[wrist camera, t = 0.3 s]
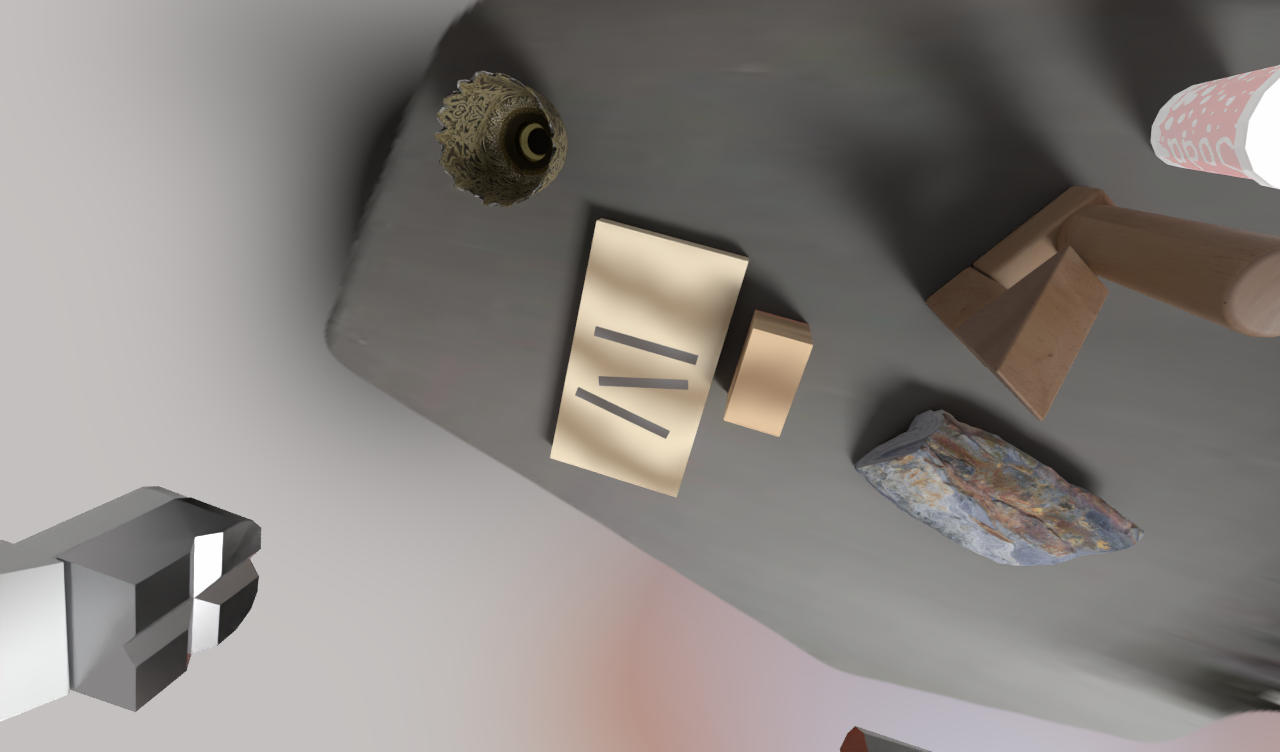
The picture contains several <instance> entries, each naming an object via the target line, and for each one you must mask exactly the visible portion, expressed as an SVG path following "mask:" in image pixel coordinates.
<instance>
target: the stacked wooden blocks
mask: <svg viewBox="0 0 1280 752" xmlns="http://www.w3.org/2000/svg"><path fill="white" fill-rule="evenodd" d="M973 267H974V268H971V267H969V268H966V269H965V270H963V271H962V272H961V273H960V274H958V275H957V276H956V277H954V278H953V279H952V280H951V281H949V282H948V283H947V284H945V285H944V286H943V287H942V288H940V289H939V290H938V291H936V292H935V293H934V294H933V295H931V296H930V297H929V298H928V299H927V301H926V302H927V305H928V306H929V307H930V309H931V310H932V311H933V312H934V313H935V314H936V315H937V316H938V317H939V318H940V319H941V321H942V322H943V323H944V324H945V325H946V326H947V327H948V328H949V329H950V330H951V331H952V333H953V334H954V335H955V336H956V337H957V338H958V339H959V340H960V341H961V342H962V343H963V344H964V345H965V346H966V347H967V348H968V349H969V350H970V351H971V352H972V353H973V354H974V355H975V356H976V357H977V358H978V359H979V360H980V361H981V363H982V364H983V365H984V366H985V367H987V368H988V369H989V370H990V371H991V372H992V373H993V374H994V375H995V376H996V377H997V378H998V379H999V380H1000V381H1001V382H1002V383H1003V384H1004V385H1005V386H1006V387H1007V388H1008V389H1009V390H1010V391H1011V392H1012V393H1013V394H1014V395H1015V396H1016V397H1017V399H1018V400H1019V401H1020V402H1021V403H1022V404H1023V405H1024V406H1025V407H1026V408H1027V409H1028V410H1029V411H1030V412H1031V413H1032V414H1033V415H1034V416H1035V417H1036V418H1037V419H1038V420H1041V421H1042V420H1044V418H1045V416H1046V414H1047V412H1048V411H1049V409H1050V407H1051V405H1052V403H1053V401H1054V399H1055V397H1056V395H1057V393H1058V391H1059V389H1060V387H1061V385H1062V383H1063V381H1064V379H1065V377H1066V375H1067V373H1068V371H1069V369H1070V367H1071V365H1072V364H1073V362H1074V360H1075V358H1076V356H1077V354H1078V352H1079V350H1080V348H1081V346H1082V344H1083V342H1084V340H1085V338H1086V336H1087V334H1088V332H1089V330H1090V328H1091V326H1092V324H1093V322H1094V320H1095V318H1096V316H1097V315H1098V313H1099V311H1100V309H1101V307H1102V305H1103V303H1104V301H1105V299H1106V297H1107V295H1108V293H1109V290H1108V289H1107V288H1106V287H1105V286H1104V284H1103V283H1102V282H1101V281H1100V280H1099V279H1098V277H1097V276H1100V277H1102V278H1105V279H1107V280H1110V281H1112V282H1115V283H1117V284H1120V285H1122V286H1125V287H1127V288H1129V289H1132V290H1134V291H1137V292H1139V293H1142V294H1144V295H1147V296H1149V297H1152V298H1154V299H1157V300H1159V301H1162V302H1164V303H1167V304H1169V305H1172V306H1174V307H1177V308H1179V309H1182V310H1184V311H1187V312H1189V313H1191V314H1194V315H1196V316H1199V317H1201V318H1204V319H1206V320H1209V321H1211V322H1214V323H1216V324H1219V325H1221V326H1224V327H1226V328H1229V329H1231V330H1234V331H1236V332H1239V333H1242V334H1245V335H1248V336H1251V337H1275V336H1280V237H1278V236H1273V235H1267V234H1262V233H1256V232H1251V231H1246V230H1240V229H1235V228H1229V227H1224V226H1218V225H1213V224H1207V223H1202V222H1197V221H1191V220H1186V219H1180V218H1175V217H1169V216H1164V215H1158V214H1153V213H1147V212H1142V211H1137V210H1131V209H1126V208H1120V207H1117V206H1116V205H1115V204H1114V203H1113V201H1112V200H1111V199H1110V198H1109V197H1108V195H1107V194H1106V193H1105V192H1104V191H1103V190H1101V189H1096V188H1089V187H1082V186H1072V187H1070V188H1069V189H1068V190H1066V191H1065V192H1064V193H1062V194H1061V195H1060V196H1059V197H1057V198H1056V199H1055V200H1053V201H1052V202H1051V203H1050V204H1048V205H1047V206H1046V207H1044V208H1043V209H1042V210H1041V211H1039V212H1038V213H1037V214H1035V215H1034V216H1033V217H1032V218H1030V219H1029V220H1028V221H1027V222H1025V223H1024V224H1023V225H1021V226H1020V227H1019V228H1018V229H1016V230H1015V231H1014V232H1012V233H1011V234H1010V235H1009V236H1007V237H1006V238H1005V239H1003V240H1002V241H1001V242H1000V243H998V244H997V245H996V246H994V247H993V248H992V249H991V250H989V251H988V252H987V253H985V254H984V255H983V256H982V257H980V258H979V259H978V260H976V261H975V262H974V264H973ZM1096 275H1097V276H1096Z"/></svg>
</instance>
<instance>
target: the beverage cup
mask: <svg viewBox="0 0 1280 752" xmlns="http://www.w3.org/2000/svg"><path fill="white" fill-rule="evenodd" d="M1151 144H1152V147H1153V149H1154V152H1155V154H1156V156H1157V157H1159V158H1160V159H1161V160H1163V161H1164V162H1165V163H1166V164H1168V165H1172V166H1177V167H1182V168H1188V169H1194V170H1200V171H1206V172H1212V173H1218V174H1224V175H1230V176H1236V177H1242V178H1248V179H1254V180H1255V181H1256V182H1258V183H1259V184H1260V185H1263V186H1267V187H1272V188H1277V189H1280V65H1278V66H1274V67H1270V68H1265V69H1261V70H1257V71H1252V72H1248V73H1244V74H1239V75H1235V76H1231V77H1227V78H1222V79H1218V80H1214V81H1209V82H1205V83H1201V84H1196V85H1192V86H1190V87H1188V88H1187V89H1185V90H1183V91H1181V92H1179V93H1177V94H1176V95H1174V96H1173V97H1172V98H1171V99H1170V100H1169V101H1168V102H1167V103H1166V104H1165V105H1164V106H1163V107H1162V108H1161V109H1160V111H1159V113H1158V115H1157V117H1156V119H1155V121H1154V123H1153V125H1152V131H1151Z"/></svg>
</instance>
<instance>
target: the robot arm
mask: <svg viewBox="0 0 1280 752" xmlns="http://www.w3.org/2000/svg"><path fill="white" fill-rule="evenodd" d="M260 549H261V527H259V525H257V524H256V523H255V522H254V521H253V520H250V519H247V518H245V517H242V516H239V515H237V514H234V513H231V512H228V511H226V510H223V509H220V508H218V507H215V506H212V505H210V504H207V503H204V502H201V501H199V500H196V499H194V498H191V497H190V498H188V497H186V496H183V495H180V494H178V493H175V492H172V491H170V490H167V489H164V488H162V487H159V486H157V487H156V486H154V487H141V488H139V489H137V490H134V491H132V492H130V493H128V494H125V495H123V496H121V497H119V498H116V499H114V500H112V501H110V502H107V503H105V504H103V505H101V506H99V507H96V508H94V509H92V510H89V511H87V512H85V513H83V514H80V515H78V516H76V517H74V518H71V519H69V520H67V521H65V522H62V523H60V524H58V525H56V526H53V527H51V528H49V529H47V530H45V531H42V532H40V533H38V534H36V535H33V536H31V537H29V538H26V539H24V540H22V541H20V542H17V543H15V544H13V543H10V542H7V541H4V540H1V541H0V722H1V721H3V720H5V719H8V718H10V717H13V716H16V715H18V714H20V713H23V712H25V711H28V710H31V709H33V708H36V707H38V706H40V705H43V704H46V703H48V702H51V701H53V700H55V699H58V698H61V697H63V696H66V695H68V694H69V693H70V690H73V691H76V692H79V693H82V694H84V695H88V696H90V697H93V698H96V699H99V700H102V701H105V702H108V703H111V704H114V705H117V706H120V707H122V708H125V709H128V710H131V711H134V712H136V711H137V710H139V709H140V708H141V707H142V706H144V705H145V704H146V703H147V702H148V701H150V700H151V699H152V698H153V697H155V696H156V695H157V694H158V693H160V692H161V691H162V690H163V689H165V688H166V687H167V686H168V685H170V684H171V683H172V682H173V681H174V680H176V679H177V678H178V677H179V676H181V675H182V674H183V673H184V672H186V671H187V667H188V664H189V660H190V657H191V654H193V653H196V652H199V651H202V650H205V649H208V648H211V647H214V646H217V645H219V644H220V643H221V642H222V641H223V640H224V639H226V638H227V637H228V636H229V635H230V634H232V633H233V632H234V631H235V630H236V629H237V628H238V626H239V625H240V624H241V622H242V621H243V619H244V618H245V617H246V615H247V614H248V612H249V611H250V609H251V608H252V605H253V602H254V599H255V597H256V594H257V591H258V579H259V576H258V574H257V572H256V570H255V568H254V566H253V564H252V562H251V560H250V558H251V557H252V556H253V555H254V554H255V553H256V552H258V551H259V550H260ZM840 752H931V751H928V750H925V749H922V748H919V747H916V746H913V745H910V744H907V743H904V742H901V741H898V740H895V739H892V738H889V737H886V736H883V735H880V734H877V733H874V732H871V731H868V730H865V729H862V728H859V727H856V726H855V727H854V728H853V729H852V730H850V732H848V733H847V735H846V737H845V739H844V742H843V744H842V746H841V748H840Z"/></svg>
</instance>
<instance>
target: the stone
mask: <svg viewBox="0 0 1280 752" xmlns="http://www.w3.org/2000/svg"><path fill="white" fill-rule="evenodd" d="M854 467H855V469H856V470H857V472H858V473H860V474H861V475H863V476H864V477H865V478H866V479H867V481H868V482H869V483H870V484H871V485H872V486H873V487H874V488H875V489H876V490H877V491H878V492H879V493H881V494H882V495H883V496H885V497H886V498H888V499H889V500H890V501H892V502H893V503H894V504H895V505H896V506H897V507H898V508H900V509H901V510H902V511H905V512H907V513H908V514H909V515H910V516H912V517H914V518H916V519H918V520H920V521H922V522H923V523H925V524H926V525H928V526H930V527H932V528H933V529H935V530H937V531H938V532H940V533H941V534H942V535H944V536H946V537H947V538H949V539H950V540H952V541H954V542H955V543H957V544H959V545H961V546H963V547H965V548H967V549H969V550H971V551H973V552H976V553H977V554H979V555H982V556H985V557H988V558H990V559H992V560H993V561H996V562H998V563H1003V564H1010V565H1016V566H1019V565H1024V566H1031V565H1051V564H1057V563H1061V562H1064V561H1068V560H1071V559H1073V558H1075V557H1078V556H1082V555H1088V554H1097V553H1108V552H1113V551H1117V550H1121V549H1128V548H1131V547H1134V546H1135V545H1136V543H1137V542H1138V541H1139V540H1140V539H1141V538H1142V537H1143V535H1144V531H1143V530H1141V529H1140V528H1139V527H1137V526H1136V525H1135V524H1134V523H1133V522H1131V521H1130V520H1128V519H1126V518H1125V517H1123V516H1122V515H1121V514H1120V513H1119V512H1117V511H1116V510H1115V509H1113V508H1112V507H1110V506H1109V505H1108V504H1107V503H1106V502H1105V501H1104V500H1102V499H1101V498H1099V497H1097V496H1096V495H1094V494H1093V493H1091V492H1089V491H1087V490H1086V489H1084V488H1081V487H1079V486H1076V485H1073V484H1070V483H1068V482H1067V481H1066V480H1065V479H1063V478H1062V477H1061V476H1060V475H1058V474H1057V473H1056V472H1055V471H1054V470H1053V469H1052V468H1050V467H1048V466H1046V465H1044V464H1043V463H1041V462H1039V461H1038V460H1036V459H1035V458H1033V457H1031V456H1030V455H1028V454H1027V453H1025V452H1023V451H1021V450H1019V449H1018V448H1016V447H1015V446H1013V445H1011V444H1009V443H1007V442H1006V441H1004V440H1002V439H1001V438H1000V437H999V436H998V435H995V434H991V433H988V432H986V431H984V430H981V429H979V428H976V427H971V426H969V425H967V424H964V423H962V422H959V421H957V420H956V419H954V416H953V415H951V414H950V413H948V412H946V411H944V410H937V411H932V410H928V411H927V412H924V413H921V414H919V415H917V416H915V418H914V420H913V421H912V423H911V425H910V427H909V429H908V430H907V432H904V433H902V434H900V435H898V436H897V437H895V438H893V439H891V440H889V441H887V442H885V443H883V444H881V445H879V446H877V447H876V448H874V449H873V450H872V451H870V452H869V453H868V454H866V455H865V456H864V457H863V458H861V459H860V460H859V461H857V462H856V463H855V464H854Z"/></svg>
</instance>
